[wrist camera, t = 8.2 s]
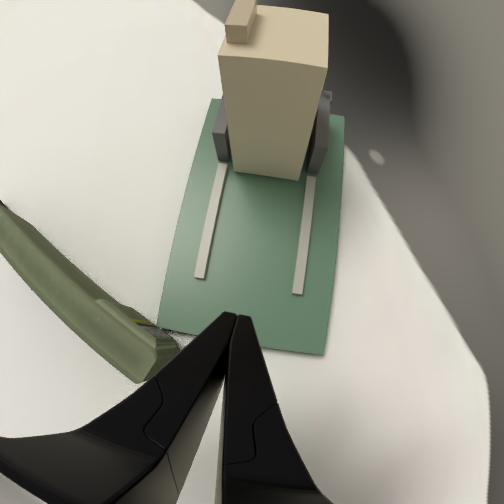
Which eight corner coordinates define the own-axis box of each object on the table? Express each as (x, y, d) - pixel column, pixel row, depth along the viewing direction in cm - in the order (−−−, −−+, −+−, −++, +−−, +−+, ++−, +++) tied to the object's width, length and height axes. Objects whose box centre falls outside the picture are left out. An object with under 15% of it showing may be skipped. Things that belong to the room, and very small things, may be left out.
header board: (320, 353, 22) (343, 363, 16) (160, 326, 23) (126, 325, 16) (341, 123, 27) (359, 76, 20) (213, 105, 27) (204, 55, 21)
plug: (298, 180, 24) (331, 49, 11) (233, 171, 24) (215, 36, 11) (304, 129, 25) (331, -2, 12) (245, 120, 25) (237, -13, 12)
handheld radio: (164, 380, 22) (-7, 220, 25) (187, 345, 23) (9, 195, 26) (134, 393, 15) (-45, 196, 19) (164, 348, 16) (-27, 167, 20)
